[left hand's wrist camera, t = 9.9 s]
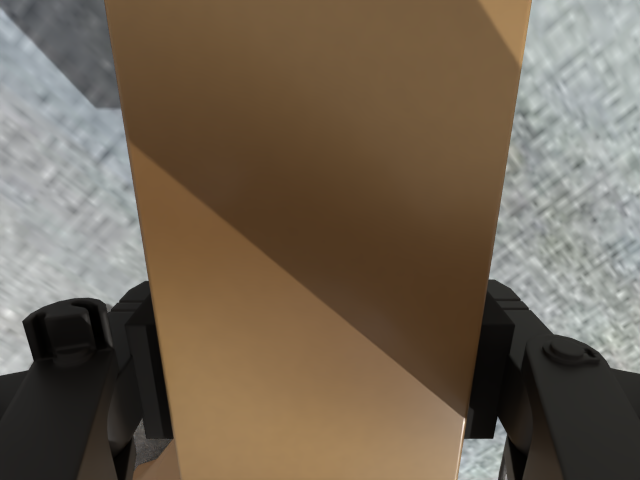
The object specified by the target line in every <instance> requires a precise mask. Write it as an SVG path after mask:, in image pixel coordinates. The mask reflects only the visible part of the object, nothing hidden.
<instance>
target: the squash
mask: <svg viewBox="0 0 640 480" xmlns="http://www.w3.org/2000/svg"><path fill="white" fill-rule="evenodd" d="M133 480H180V474H179V468H178V462H177V455H176V449H175V443H174V439H173V440H172V441H171V442H170V443H169V445H168V446H167V447H166V448H165V450H164V451H163V452H162V453H161V455H160V456H159V457H158V458H157V459H156V460H153V461H149V462H146V463H143V464H140V465H138V467H137V468H136V469H135V471H134V473H133Z"/></svg>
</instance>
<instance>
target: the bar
mask: <svg viewBox="0 0 640 480" xmlns="http://www.w3.org/2000/svg"><path fill="white" fill-rule="evenodd" d="M104 3H105V9H106V15H107V22H108V28H109V34H110V40H111V47H112V53H113V59H114V66H115V72H116V78H117V84H118V91H119V97H120V103H121V110H122V116H123V122H124V128H125V135H126V141H127V147H128V154H129V160H130V166H131V172H132V179H133V185H134V191H135V198H136V204H137V210H138V217H139V223H140V229H141V235H142V242H143V248H144V254H145V261H146V267H147V273H148V279H149V286H150V292H151V298H152V305H153V311H154V317H155V323H156V330H157V336H158V342H159V349H160V355H161V361H162V367H163V374H164V380H165V386H166V393H167V399H168V405H169V411H170V418H171V424H172V430H173V437H174V443H175V449H176V455H177V462H178V468H179V474H180V480H457V479H458V472H459V466H460V459H461V453H462V447H463V440H464V434H465V427H466V421H467V414H468V408H469V402H470V395H471V389H472V382H473V376H474V369H475V363H476V356H477V350H478V344H479V337H480V331H481V324H482V318H483V311H484V305H485V299H486V292H487V286H488V279H489V273H490V266H491V260H492V254H493V247H494V241H495V234H496V228H497V221H498V215H499V208H500V202H501V196H502V189H503V183H504V176H505V170H506V163H507V157H508V151H509V144H510V138H511V131H512V125H513V118H514V112H515V105H516V99H517V93H518V86H519V80H520V73H521V67H522V60H523V54H524V48H525V41H526V35H527V28H528V22H529V15H530V9H531V3H532V0H104Z"/></svg>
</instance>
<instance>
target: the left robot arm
mask: <svg viewBox="0 0 640 480" xmlns="http://www.w3.org/2000/svg"><path fill="white" fill-rule="evenodd" d="M22 322H23V326H24V329H25V333H26V336H27V339H28V343H29V346H30V349H31V353H32V356H33V360H34V362H33V364H32V365H31V367H30V369H29V370H27V371H23V372H18V373H12V374H7V375H2V376H0V480H133V473H134V466H135V459H136V448H135V442H134V437H133V434H134V432H135V430H136V428H137V426H138V425H139V423H140V421H141V419H142V418H143V424H144V429H145V434H146V439H174V437H173V430H172V424H171V418H170V411H169V405H168V399H167V393H166V386H165V380H164V374H163V367H162V361H161V355H160V349H159V342H158V336H157V330H156V323H155V317H154V311H153V305H152V298H151V292H150V286H149V281H144V282H143V283H141V284H139V285H137V286H136V287H134V288H132V289H130V290H129V291H128V292H127V293H126V294H125V295H124V296H123V297H122V298H121V299H120V300H119V303H117V304H116V305H115V306H114V307H113V308H112V309H111V312H108V313H107V308H106V304H105V303H103V302H102V301H101V300H98V299H93V298H74V299H69V300H64V301H59V302H56V303H53V304H50V305H47V306H44V307H42V308H40V309H38V310H37V311H35V312H33V313H31V314H30V315H29V316H28V317H26V318H25V319H24V320H23V321H22ZM497 417H499V419H500V421H501V423H502V425H503V427H504V429H505V431H506V432H507V437H506V442H505V447H504V452H503V456H502V461H501V466H500V471H499V477H498V480H505V476H506V474H507V479H508V480H640V374H638V373H633V372H627V371H622V370H617V369H613V368H610V366H609V365H608V363H607V361H606V360H605V359H604V358H603V357H602V355H601V354H600V353H599V352H598V351H596V350H595V349H593V348H591V347H590V346H588V345H587V344H585V343H582V342H580V341H577V340H575V339H573V338H569V337H565V336H560V335H554V334H553V333H552V332H551V331H550V330H549V329H548V328H547V327H546V326H545V325H544V324H543V323H542V322H541V321H540V319H539V318H538V317H537V316H536V315H535V314H534V313H533V312H532V311H531V310H529V308H528V307H527V306H526V304H525V303H524V302H523V301H521V300H520V298H519V297H518V296H517V295H516V294H515V293H514V292H513V291H512V290H511V289H510V288H509V287H507V286H505V285H503V284H501V283H500V282H498V281H496V280H488V286H487V292H486V299H485V305H484V311H483V318H482V324H481V331H480V337H479V344H478V350H477V356H476V363H475V369H474V376H473V382H472V389H471V395H470V402H469V408H468V414H467V421H466V427H465V434H464V439H493V437H494V432H495V427H496V422H497Z"/></svg>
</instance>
